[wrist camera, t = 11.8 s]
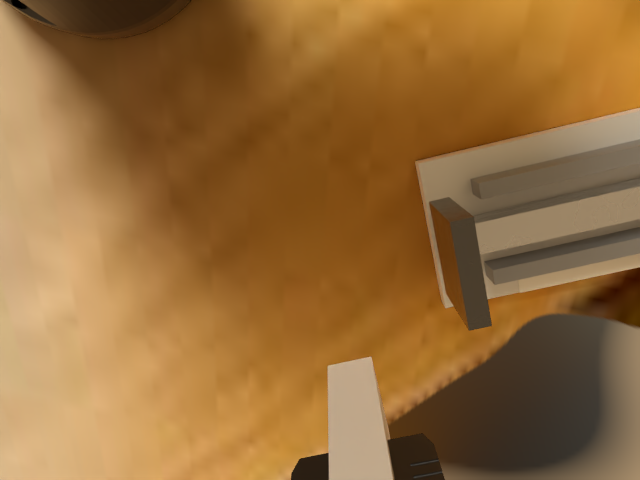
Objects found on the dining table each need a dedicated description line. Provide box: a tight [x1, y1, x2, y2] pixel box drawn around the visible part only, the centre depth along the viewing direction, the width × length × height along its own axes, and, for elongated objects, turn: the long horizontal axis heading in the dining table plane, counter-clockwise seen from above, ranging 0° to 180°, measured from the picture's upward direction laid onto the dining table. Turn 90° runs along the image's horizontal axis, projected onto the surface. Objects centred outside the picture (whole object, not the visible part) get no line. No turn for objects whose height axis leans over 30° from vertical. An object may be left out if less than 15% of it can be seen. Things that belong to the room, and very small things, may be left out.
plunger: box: [429, 178, 640, 330], centre depth 29 cm, size 16×8×7 cm, turn 104°
